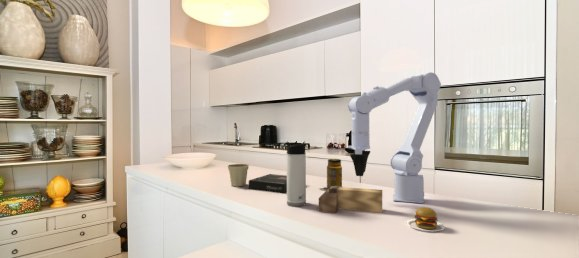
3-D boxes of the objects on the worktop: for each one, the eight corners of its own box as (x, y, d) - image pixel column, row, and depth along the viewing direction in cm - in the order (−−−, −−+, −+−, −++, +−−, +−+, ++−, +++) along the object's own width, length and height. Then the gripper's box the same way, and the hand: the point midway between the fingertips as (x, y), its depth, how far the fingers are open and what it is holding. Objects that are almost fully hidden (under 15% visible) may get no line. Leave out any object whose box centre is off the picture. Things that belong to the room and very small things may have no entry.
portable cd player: (303, 185, 128) (303, 176, 128) (284, 194, 113) (284, 184, 113) (270, 182, 136) (270, 173, 136) (248, 190, 121) (248, 180, 121)
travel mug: (305, 207, 95) (305, 144, 94) (285, 206, 96) (284, 144, 96) (308, 201, 101) (307, 142, 101) (289, 201, 102) (288, 142, 102)
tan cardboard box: (343, 201, 101) (343, 186, 101) (335, 213, 89) (335, 196, 88) (328, 200, 103) (328, 185, 103) (318, 211, 90) (318, 194, 90)
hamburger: (411, 218, 86) (411, 199, 85) (457, 228, 77) (458, 207, 77) (392, 228, 77) (392, 207, 77) (442, 241, 69) (442, 218, 68)
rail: (382, 209, 92) (382, 188, 92) (381, 212, 89) (381, 191, 89) (334, 204, 97) (334, 185, 97) (332, 207, 94) (332, 188, 94)
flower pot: (225, 184, 131) (224, 164, 131) (245, 182, 135) (245, 163, 135) (230, 188, 122) (230, 167, 122) (252, 186, 126) (252, 165, 126)
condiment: (346, 189, 120) (346, 159, 120) (333, 192, 114) (333, 161, 114) (332, 186, 125) (332, 157, 125) (318, 189, 120) (318, 159, 119)
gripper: (350, 131, 106) (351, 169, 107) (345, 133, 93) (345, 177, 93) (371, 131, 104) (371, 170, 105) (368, 133, 90) (368, 178, 91)
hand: (360, 173), depth 99 cm, fingers open, 7 cm apart
